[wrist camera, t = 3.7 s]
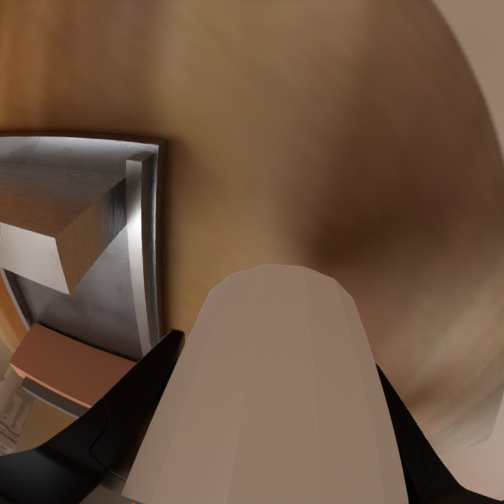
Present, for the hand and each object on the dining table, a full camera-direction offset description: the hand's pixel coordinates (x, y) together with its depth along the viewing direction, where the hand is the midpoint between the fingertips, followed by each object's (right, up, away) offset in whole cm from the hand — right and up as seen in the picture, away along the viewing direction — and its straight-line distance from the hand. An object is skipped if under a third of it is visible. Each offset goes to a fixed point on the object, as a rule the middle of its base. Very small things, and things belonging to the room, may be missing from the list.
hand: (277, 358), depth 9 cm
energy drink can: (-34, -14, +22) cm, 43 cm away
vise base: (-13, +1, +8) cm, 16 cm away
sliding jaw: (-15, -5, +11) cm, 19 cm away
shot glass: (0, +1, +1) cm, 2 cm away
